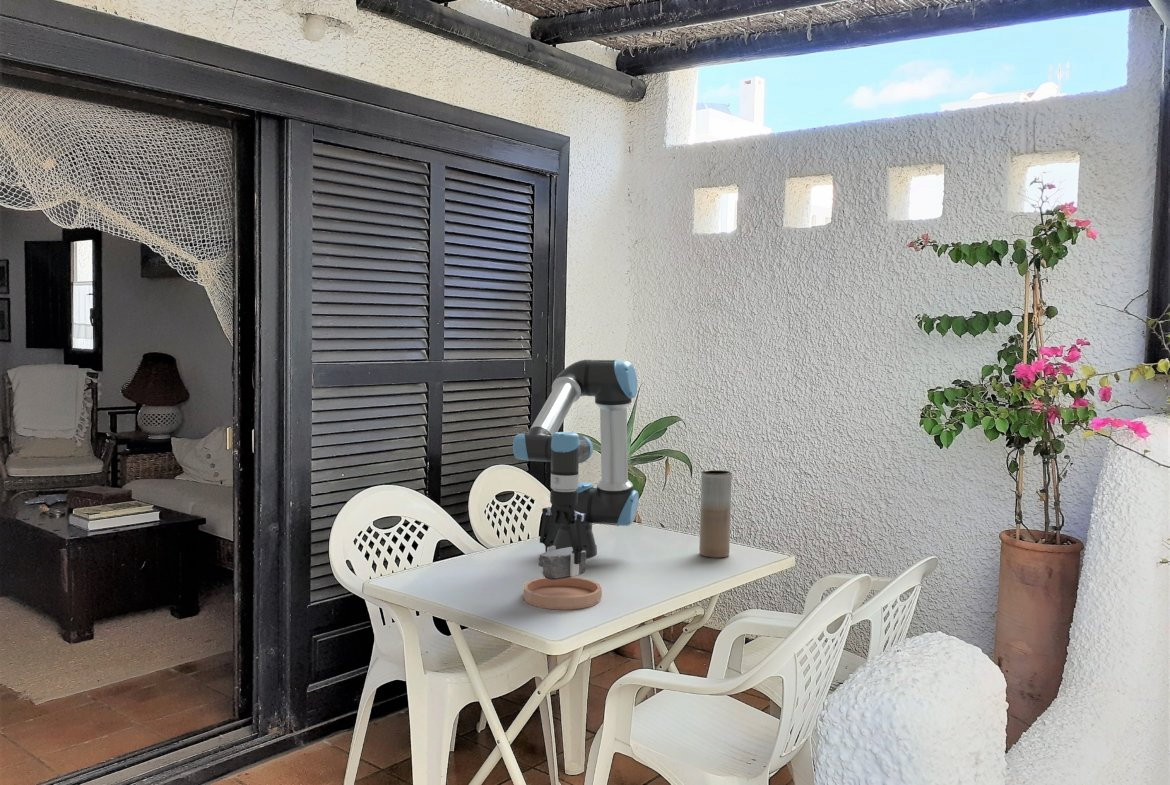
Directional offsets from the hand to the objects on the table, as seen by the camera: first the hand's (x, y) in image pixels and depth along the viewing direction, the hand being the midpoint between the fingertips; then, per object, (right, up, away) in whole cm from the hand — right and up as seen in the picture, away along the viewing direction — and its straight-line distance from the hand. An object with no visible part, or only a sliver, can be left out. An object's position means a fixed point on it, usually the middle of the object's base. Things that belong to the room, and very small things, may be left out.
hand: (562, 572), depth 241 cm
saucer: (0, -7, 0) cm, 7 cm away
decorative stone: (0, -1, 0) cm, 1 cm away
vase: (+49, -5, +54) cm, 74 cm away
